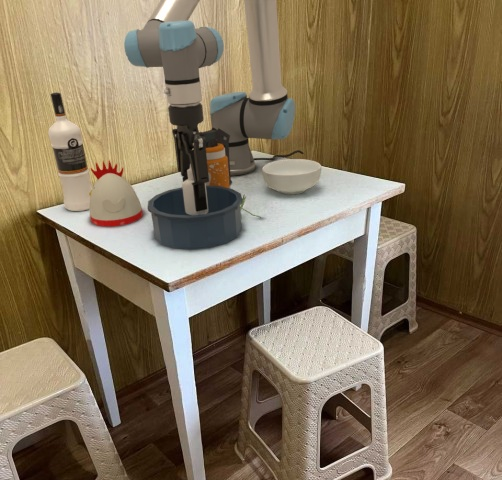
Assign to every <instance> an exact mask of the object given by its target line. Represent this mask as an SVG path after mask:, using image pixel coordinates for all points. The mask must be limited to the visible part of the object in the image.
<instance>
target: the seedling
mask: <svg viewBox="0 0 502 480" xmlns="http://www.w3.org/2000/svg"><path fill="white" fill-rule="evenodd" d="M246 198H247V196H245V194H243V195H242V199H243V203H242V204H241V205H240V208H241V210H242V211H245V212H246V213H248V214H250V215H251V216H253V217H258V218H260V219H261V218H262V216H259V215H256V214H253V213H251V212H250V211H248V210H247V209H244V208H243V207H244V204H245V201H246Z"/></svg>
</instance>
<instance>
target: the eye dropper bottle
mask: <svg viewBox="0 0 502 480" xmlns="http://www.w3.org/2000/svg"><path fill="white" fill-rule="evenodd" d="M187 174H188V179H187V180H185V181H184V182H183V181H182V183H181V185H182V186H181V187H182V188H183V197H184V205H185V212H186V213H187V214H189V215H201V214H207V213H208V201H207V192H206V201H207V209H206V210H202V211H198V212H197V211H196V208H195V199H194V190H193V185H192V183H194V178H193V173H192V169H191V164H190V168H189V169H188V170H187ZM205 191H206V184H205Z"/></svg>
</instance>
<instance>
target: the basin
mask: <svg viewBox="0 0 502 480" xmlns="http://www.w3.org/2000/svg"><path fill="white" fill-rule="evenodd" d="M206 192H207V201H208V213H207V214H201V215H189V214H187V213H186V212H185V205H184V197H183V188H182V186H181V187H176V188H172V189H171V188H170V189H168V190H165V191H162V192H160V193H158V194H155V195H154V196H153V197H152V198H150V199H149V200H148V201H147V211H148V212H149V213H150V214H151V220H152V227H153V233H154V239H155V240H156V241H157V242H158V243H160V245H163V246H166V247H169V248H172V249H179V250H201V249H202V250H203V249H210V248H214V247H218V246H222V245H225V244H227V243H229V242H231V241H233V240H235V239H237V238H238V237H239V236H240V234H241V233H242V231H243V228H242V209H241V208H240V207H241V205H242V203H243V195H242V193H241V192H239V191H237V190H236V189H234V188H226V187H221V186H209V185H206Z"/></svg>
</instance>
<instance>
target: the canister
mask: <svg viewBox="0 0 502 480" xmlns="http://www.w3.org/2000/svg"><path fill="white" fill-rule="evenodd" d="M199 134H200V137H201V138H204V137H205V139H206V156H207V165H208V175H209V182H206V183H205V184H206V185H209V186H221V187H226V188H230V186H232V184H233V181H232V178H231V177H232V176H231V175H230V160H229V138H230V135H229V134H227V133H226V132H224V131H222V130H221V129H219V128H218V130H217V129H215V128H212V127H211V129H209V130H206V131H199ZM224 137H226V138H227V139H226V140H224Z"/></svg>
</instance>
